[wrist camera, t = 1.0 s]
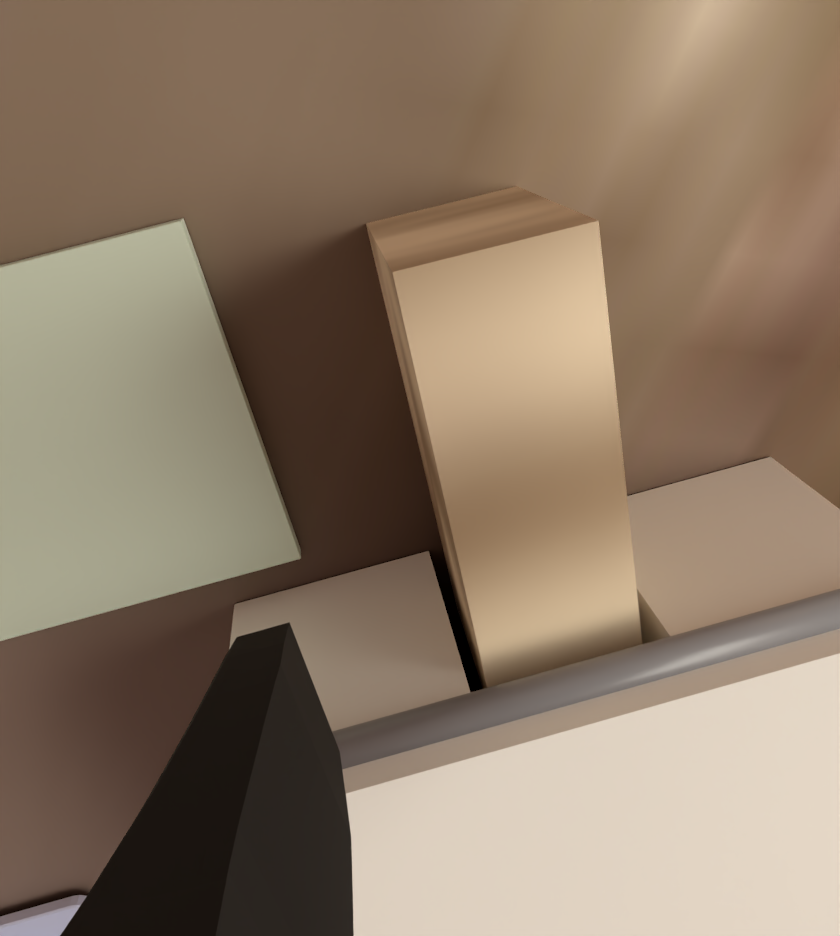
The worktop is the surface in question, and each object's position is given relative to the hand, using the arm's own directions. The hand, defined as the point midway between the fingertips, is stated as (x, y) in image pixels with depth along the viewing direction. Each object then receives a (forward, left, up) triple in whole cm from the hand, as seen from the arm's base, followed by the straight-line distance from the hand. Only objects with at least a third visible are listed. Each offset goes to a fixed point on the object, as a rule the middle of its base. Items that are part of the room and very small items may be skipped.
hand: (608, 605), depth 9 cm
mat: (0, +11, -9) cm, 14 cm away
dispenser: (-10, 0, -9) cm, 14 cm away
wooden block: (-2, 0, -10) cm, 10 cm away
